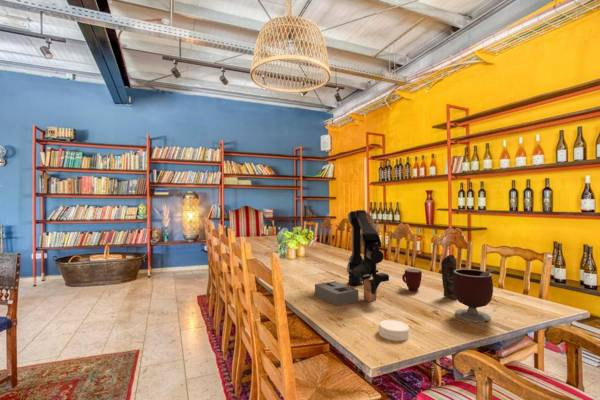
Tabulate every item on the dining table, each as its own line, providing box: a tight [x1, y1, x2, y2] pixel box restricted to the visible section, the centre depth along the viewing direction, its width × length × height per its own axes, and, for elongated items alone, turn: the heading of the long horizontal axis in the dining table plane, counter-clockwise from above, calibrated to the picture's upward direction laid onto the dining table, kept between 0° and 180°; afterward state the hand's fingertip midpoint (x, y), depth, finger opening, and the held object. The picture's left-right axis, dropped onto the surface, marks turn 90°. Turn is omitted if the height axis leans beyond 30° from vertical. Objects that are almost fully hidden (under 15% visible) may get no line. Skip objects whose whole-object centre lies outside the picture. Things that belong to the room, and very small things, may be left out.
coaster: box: [378, 319, 410, 342], centre depth 105 cm, size 10×10×4 cm
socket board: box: [314, 280, 359, 307], centre depth 145 cm, size 12×18×5 cm, turn 29°
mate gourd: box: [453, 268, 496, 323], centre depth 120 cm, size 16×14×20 cm
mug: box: [401, 268, 423, 292], centre depth 158 cm, size 11×8×10 cm
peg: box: [363, 278, 377, 302], centre depth 142 cm, size 4×4×9 cm
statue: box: [440, 254, 457, 300], centre depth 145 cm, size 7×7×20 cm
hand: (370, 292), depth 142 cm, fingers closed on peg, 4 cm apart
